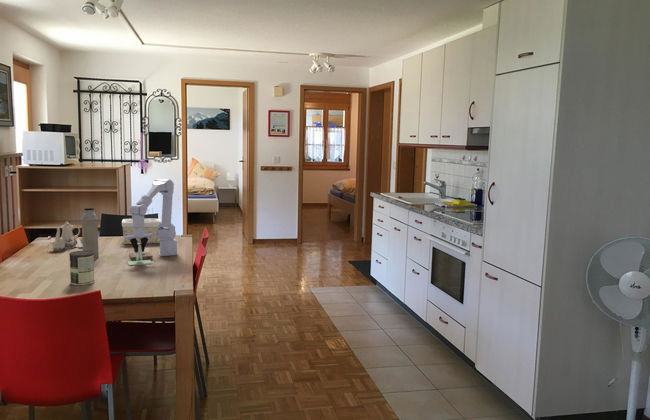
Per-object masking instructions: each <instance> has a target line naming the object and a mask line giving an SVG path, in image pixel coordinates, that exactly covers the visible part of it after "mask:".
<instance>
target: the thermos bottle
mask: <svg viewBox="0 0 650 420" xmlns="http://www.w3.org/2000/svg"><path fill="white" fill-rule="evenodd" d="M83 209H84V212H83V214H82V218H81V234H82V235H81V237H82V242H83V245H82V251H84V250H87V251H93V252H94V260H96V259H99V256H100V254H99V253H100V252H99V229H98V228H99V226H98V225H99V224H98V217H97V214H96V213H95V208H93V207H86V208H83Z"/></svg>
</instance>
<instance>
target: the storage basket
mask: <svg viewBox="0 0 650 420" xmlns="http://www.w3.org/2000/svg"><path fill="white" fill-rule="evenodd" d="M161 223H162V218H154V217H153V218H152V217H151V218H144V231H145V234H153V237H152V238H151V237H150V238H148V241H147V243H146V245H148V244H160V240H159V238H158V237H157V235H156V232H157V229H158V225H159V224H161ZM121 227H122V236H123V244H124V245H132V243H131V241H130V240H125V236H129V235H133V218H123V219H122V220H121ZM137 241H138V243H141V240H140V239H137Z"/></svg>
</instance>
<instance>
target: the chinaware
mask: <svg viewBox="0 0 650 420" xmlns="http://www.w3.org/2000/svg"><path fill="white" fill-rule="evenodd" d="M55 228H56V234H55V240H54V241H51V242H49V244H48V245H47V249H48V250H50V251H51V250H52V251H55V252H58V251H59V252H62V251H61V250H63V248H65V250H66V249H67V250H68V248H70V249H75V248H76V246H77V245H78V240H77V239H78V237H79V235H80V234H81V229H80V227H79V226H77V225H72V224H71V223H69V221H67V220H66V221H65V223H64V224H62V225H61V229H60V227H59V226H56V227H55ZM75 228H77V229H78V233H77V234H75V235H74V233H73V230H75ZM61 230H62V231H61ZM60 235H61V236H60ZM79 241H80V243H81V245H82V246H83V242H82V238H81V237H80V238H79ZM49 246H51V247H52V248H49ZM74 247H75V248H74Z"/></svg>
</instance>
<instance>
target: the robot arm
mask: <svg viewBox="0 0 650 420" xmlns="http://www.w3.org/2000/svg"><path fill="white" fill-rule="evenodd" d="M174 186H175V183H174V182H173V181H172V180H171V179H165V178H163V179H162V178H155V179H154V180H153V182H152V185H151V188H150V189H149V190H148V192H147V194H144V195H142V196H141V197H140V199H139V200H138V201H137V202H136V204H133V205H132V206H131V207H130V212H129V213H130V214H131V219H133V235H129V236H125V240H130V241H131V243H132V244H131V245H132V247H133V253H137V243H138V241H137V239H140V240H141V243H142V252H145V248H146V245H147V244H146V243H147V241H148V238H150V237H151V238H152V237H153V234H145V231H144V219H145V215H146V214H147V210H148V208H149V206H150V205H151V204H152V202H153V198H155V196H156V195H157V194H158V193H160V194H161V195H162V204H161V205H162V206H161V208H162V209H161V224H159V225H158V229H157V232H156V235H157V237H158V238H159V252H158V255H159V256H160V257H167V256H177V255H178V244H177V243H178V242H177V239H176V235H177V233H176V226H175V225H174V224H173V223H172V215H173V214H172V213H173V212H172V210H173V194H174V189H175V187H174Z"/></svg>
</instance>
